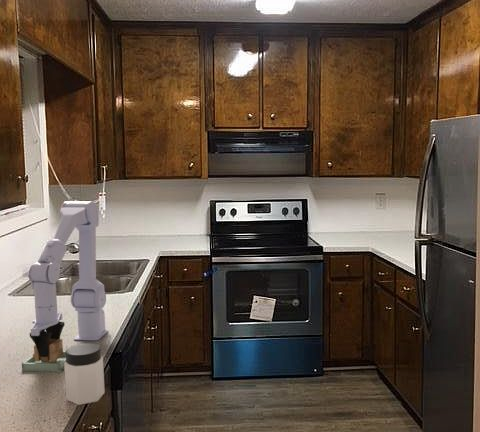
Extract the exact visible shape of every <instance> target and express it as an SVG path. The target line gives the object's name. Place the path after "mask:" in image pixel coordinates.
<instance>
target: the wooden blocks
mask: <svg viewBox="0 0 480 432" xmlns="http://www.w3.org/2000/svg"><path fill="white" fill-rule="evenodd" d="M63 346H64V345H63V339H62V338H60V339H58V340H56V339H50V341H49V352H48V356H47V357H40V356H39V353H38V350H37V348H36V345H35V344H34V345H33V354H32V355H33V359H35V361H38V362H39V361H40V360H41V362H48V361H49V360H50V362H55V361H56V360H57V359H58V358H59V357H61V356H62V355H63V351H64V347H63Z"/></svg>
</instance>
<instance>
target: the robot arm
mask: <svg viewBox="0 0 480 432" xmlns="http://www.w3.org/2000/svg"><path fill="white" fill-rule="evenodd" d="M99 213H100V212H99V207H98V205H97V204H96V202H95V201H93V200H90V201H70V200H69V201H68V200H66V201H63V203H62V204H61V207H60V210H59V217H60V221H59V223H58V226H57V228H56V232H55V234H54V237H53V239H51V240H49V241H47V242H46V244H45V246H44V248H43V251H42V252H41V254H40V256H39V258H38V260H37V262H34V263H33V264H31V266H30V267H29V269H28V274H27V277H28V279H29V282H30V283H31V288H32V290H33V293H34V295H33V296H34V309H35V319H33V320H32V321H31V323H32V324H33V326H32V327H31V328H30V332H29V338H31V340H32V342H33V344H34V345H36V348H37V350H38V353H39V356H40V357H47V356H48V352H49V341H50V339H56V340H58V339H61V335H62V332H63V329H64V327H65V326H66V325H65V322H64V321H62V320H63V313H62V312H58V301H57V281H58V280H59V279H60V274H61V268H62V267H61V266H62V265H61V263H62V261H63V258H64V256H65V254H66V252H67V251H68V250H67V246H66V243H67V242H68V240H69V238H70V237H71V235H72V233H73V232H74V230H75V228H76V230H77V231H78V266H79V267H78V271H79V272H78V273H79V275H78V280H77V281H76V282H75V283H74V284H72V287H71V289H72V290H71V294H70V295H71V296H70V304H71V306H72V307H73V308H74V310H75V312H76V313H77V327H78V328H77V329H78V334H77V335H76V336H75V337H74V338H73V341H99V340H100V339H101V338H102V337H103V336H104V335H106V334H107V333H108V332H109V329H106V319H105V318H106V317H105V311H104V309H103V308H104V307H105V305H106V303H107V295H106V292H105V284H103V283H102V282H101V281H100V280H98V279H97V265H96V264H97V263H96V262H97V251H96V249H97V247H96V246H97V243H96V242H97V241H96V239H97V238H96V237H97V236H96V235H97V234H96V232H97V231H96V230H97V229H96V228H97V227H99V221H100V220H99V217H100V216H99Z"/></svg>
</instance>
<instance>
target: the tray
mask: <svg viewBox="0 0 480 432" xmlns="http://www.w3.org/2000/svg"><path fill="white" fill-rule="evenodd" d="M65 362H66V350H63V355H62V356H61V357H59V358H58V359H57V360H56V361H55V362H50V360H49V361H48V362H41V360H40V361H39V362H38V361H35V359H33V354H32V355H31V356H30V357H28V358H27V359H25V361H22V363H21V371H23V372H24V371H25V372H49V371H51V373H53V372H55V371H61V372H62V371H63V370H65V367H64V363H65ZM52 371H53V372H52ZM55 373H56V372H55Z"/></svg>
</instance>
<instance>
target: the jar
mask: <svg viewBox="0 0 480 432" xmlns="http://www.w3.org/2000/svg"><path fill="white" fill-rule="evenodd" d="M101 349H102V347H101V346H100V344H97V343H90V342H89V343H79V344H75V345H72V346H69V347H68V348H67V349H65V351H66V362H65V363H64V367H65V368H64V378H65V379H64V381H65V382H64V383H65V397H66V398H65V399H66V401H67V400H69V401H68V402H70V401H71V402H70V403H72V402H73V404H75V405H77V406H81V405H86V404H91V403H96V402H99V400H100V399H101V398H102V397H103V395H104V394H105V376H104V373H105V372H104V356H102V350H101Z"/></svg>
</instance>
